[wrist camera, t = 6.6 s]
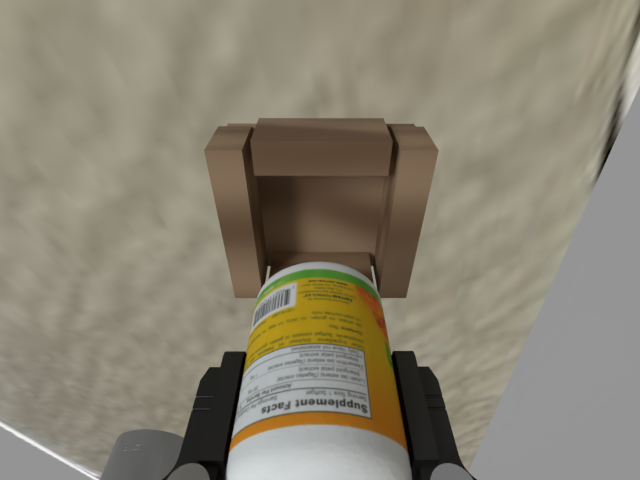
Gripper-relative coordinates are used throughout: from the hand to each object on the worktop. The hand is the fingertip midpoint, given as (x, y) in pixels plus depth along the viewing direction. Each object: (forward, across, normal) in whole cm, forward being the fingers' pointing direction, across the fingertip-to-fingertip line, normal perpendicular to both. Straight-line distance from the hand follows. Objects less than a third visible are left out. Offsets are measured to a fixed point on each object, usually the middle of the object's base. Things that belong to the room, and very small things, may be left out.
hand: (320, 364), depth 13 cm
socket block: (+11, 0, 0) cm, 11 cm away
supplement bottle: (+3, 0, 0) cm, 3 cm away
